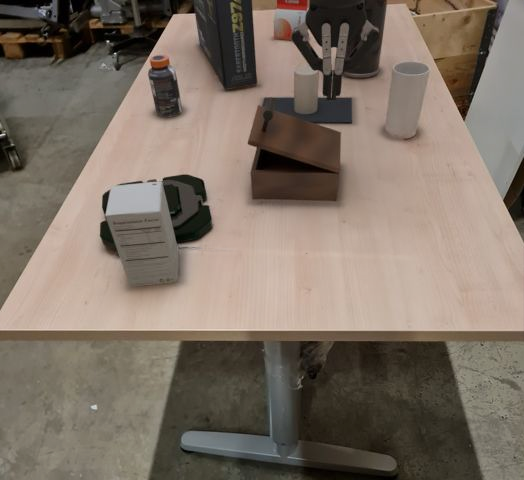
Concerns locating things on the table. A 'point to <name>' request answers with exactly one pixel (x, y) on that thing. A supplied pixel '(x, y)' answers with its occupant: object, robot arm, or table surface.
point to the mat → (319, 110)
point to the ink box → (289, 17)
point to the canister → (305, 90)
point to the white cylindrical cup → (406, 97)
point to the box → (228, 39)
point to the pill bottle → (164, 87)
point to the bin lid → (295, 138)
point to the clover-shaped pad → (175, 208)
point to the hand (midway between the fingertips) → (331, 98)
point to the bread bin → (290, 179)
